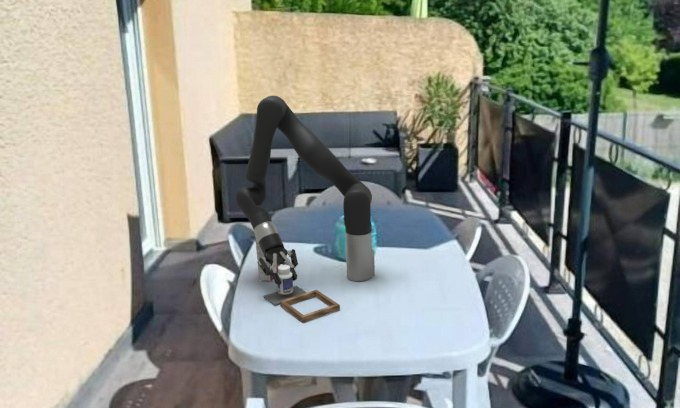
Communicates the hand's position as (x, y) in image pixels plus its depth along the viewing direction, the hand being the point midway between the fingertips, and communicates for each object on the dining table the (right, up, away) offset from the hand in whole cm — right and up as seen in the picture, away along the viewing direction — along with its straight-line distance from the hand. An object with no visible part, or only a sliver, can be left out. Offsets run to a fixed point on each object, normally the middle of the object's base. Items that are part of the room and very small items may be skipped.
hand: (287, 281), depth 214 cm
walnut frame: (+8, -8, -5) cm, 12 cm away
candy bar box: (-8, 0, +20) cm, 22 cm away
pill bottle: (-1, -4, +3) cm, 5 cm away
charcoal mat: (-1, -5, +3) cm, 6 cm away
